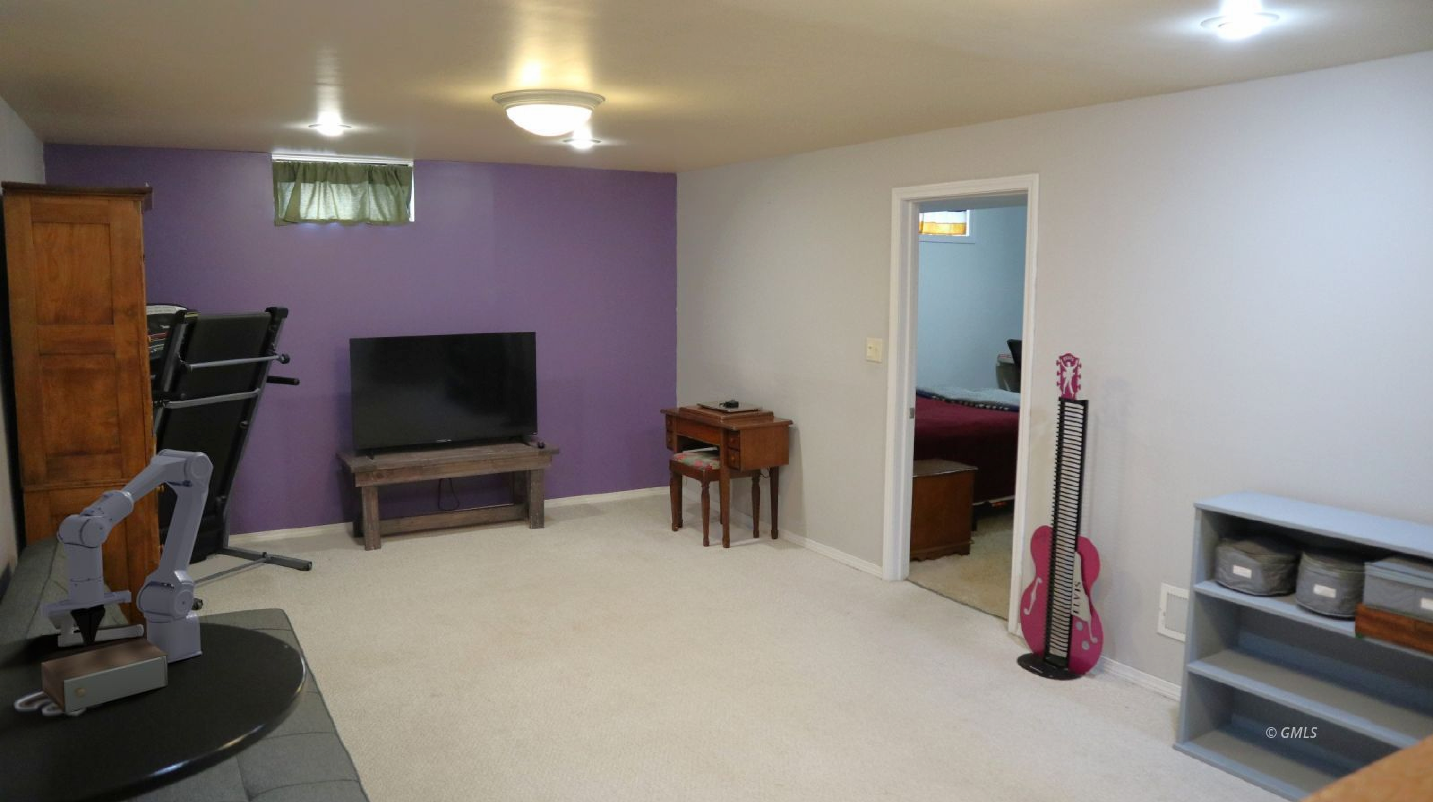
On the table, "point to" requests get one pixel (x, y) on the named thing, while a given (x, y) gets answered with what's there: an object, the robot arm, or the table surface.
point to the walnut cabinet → (93, 665)
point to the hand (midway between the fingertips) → (89, 644)
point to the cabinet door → (115, 683)
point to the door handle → (71, 638)
